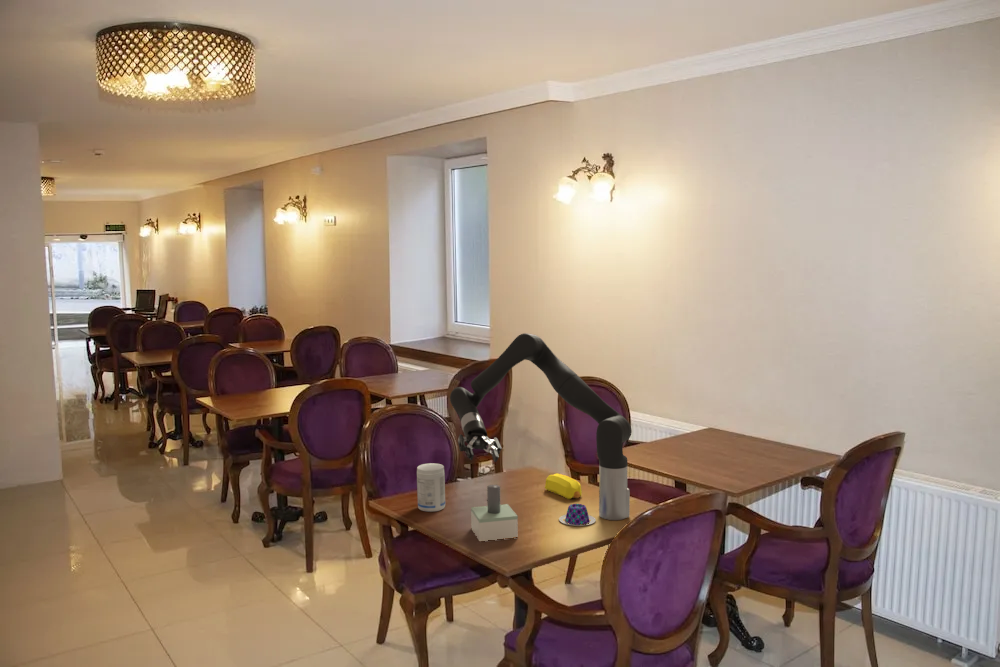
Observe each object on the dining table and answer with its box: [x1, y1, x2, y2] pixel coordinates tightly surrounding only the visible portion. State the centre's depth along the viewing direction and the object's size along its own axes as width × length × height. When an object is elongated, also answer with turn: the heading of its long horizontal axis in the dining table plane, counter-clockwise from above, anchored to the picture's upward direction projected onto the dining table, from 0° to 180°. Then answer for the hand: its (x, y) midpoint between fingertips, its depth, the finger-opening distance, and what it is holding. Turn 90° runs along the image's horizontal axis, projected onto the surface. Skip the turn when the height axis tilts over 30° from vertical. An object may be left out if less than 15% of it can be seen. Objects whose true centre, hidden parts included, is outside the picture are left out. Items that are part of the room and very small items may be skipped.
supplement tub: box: [416, 462, 446, 513], centre depth 265 cm, size 10×10×15 cm
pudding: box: [558, 503, 597, 527], centre depth 251 cm, size 12×12×5 cm
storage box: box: [470, 510, 519, 542], centre depth 240 cm, size 12×12×6 cm
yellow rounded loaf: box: [544, 472, 583, 500], centre depth 280 cm, size 18×7×8 cm
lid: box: [470, 484, 519, 523], centre depth 239 cm, size 12×12×10 cm
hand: (484, 458), depth 251 cm, fingers open, 8 cm apart
